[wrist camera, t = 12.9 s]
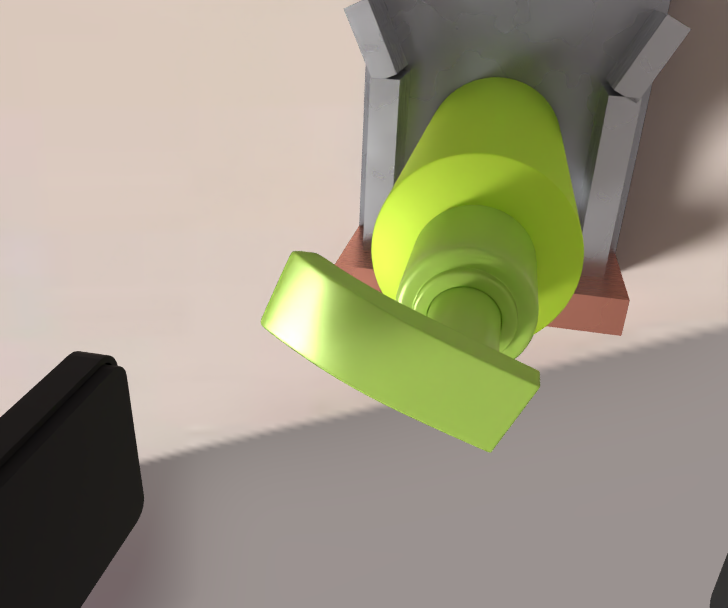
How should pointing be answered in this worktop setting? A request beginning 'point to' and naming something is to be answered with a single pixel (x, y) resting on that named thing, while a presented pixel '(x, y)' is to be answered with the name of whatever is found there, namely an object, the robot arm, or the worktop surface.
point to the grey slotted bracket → (536, 69)
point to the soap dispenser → (451, 270)
